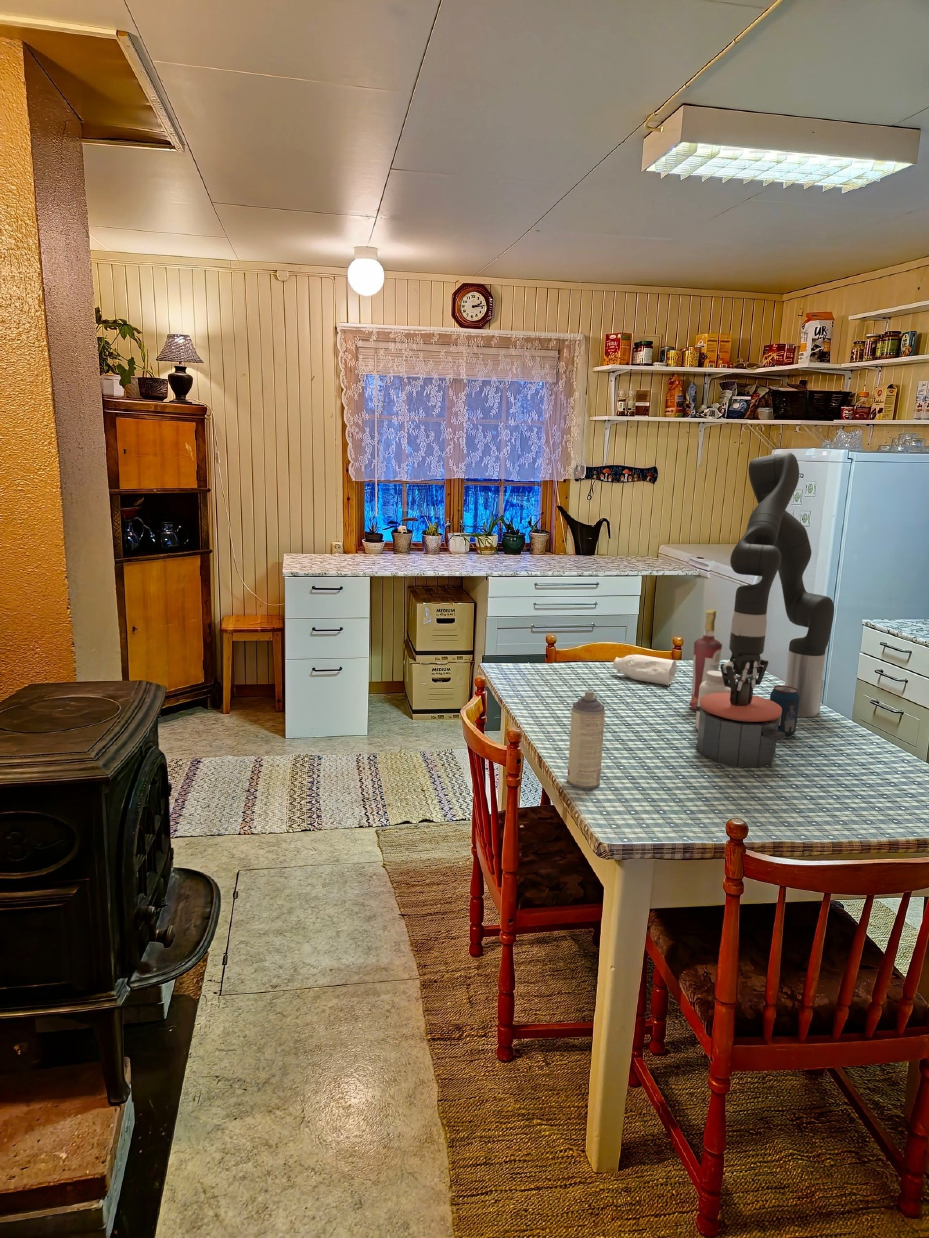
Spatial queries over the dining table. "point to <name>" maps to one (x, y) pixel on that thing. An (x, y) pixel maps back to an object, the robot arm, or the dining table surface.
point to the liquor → (705, 656)
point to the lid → (741, 706)
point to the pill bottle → (711, 688)
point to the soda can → (786, 708)
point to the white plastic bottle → (647, 668)
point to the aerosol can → (586, 742)
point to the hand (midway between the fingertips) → (740, 703)
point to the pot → (737, 740)
